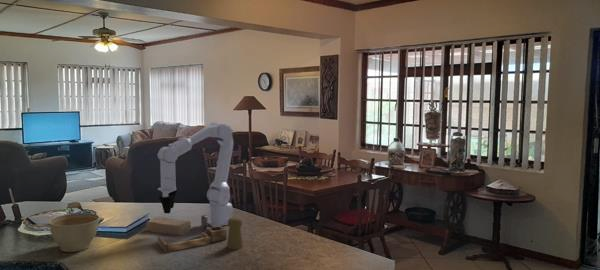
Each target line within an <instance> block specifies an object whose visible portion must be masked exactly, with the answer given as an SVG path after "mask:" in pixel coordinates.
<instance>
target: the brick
mask: <svg viewBox="0 0 600 270" xmlns="http://www.w3.org/2000/svg"><path fill="white" fill-rule="evenodd" d="M191 230H192V227H191V220H185V219H174V218H171V217H169V218H168V217H165V216H162V215H161V216H159V215H158V216H155V217H153V218H151V219H150V220H148V221H146V231H147V232H152V233H158V234H166V235H167V234H168V235H175V236H177V235H178V236H182V235H185V234H186V233H188V232H191Z"/></svg>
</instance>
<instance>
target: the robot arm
mask: <svg viewBox="0 0 600 270" xmlns="http://www.w3.org/2000/svg"><path fill="white" fill-rule="evenodd" d="M207 138H213V139H214V140H216V142H217V143H218V144H219V146H220V147H219V151H218V152H219V153H218V156H217V157H218V158H217V164H216V167H215V168H216V170H215V173H214V180H213V181H212V182H211V183H210V186H209V188H208V190H207V191H206V198H207V200H208V201H209V220H208V225H210V226H211V227H215V226H222V227H223V226H229V225H228V220H229V219H230V218H232V217H234V216H233V215H234V209H233V204H232V203H231V202H229V201H230V199H231V195H230V190H231V189H230V186H229V184H228V183H227V182H228V178H229V172H230V166H231V161H232V155H233V150H234V137H233V129H232V128H231V126H230V125H229V124H227V123H218V122H211V123H210V124H207V125H205V127H203V128H202V129H200V130H198V131H197V132H196V133H194V134H192V135H190V136H189V137H188V138H187V137H185V136H184V137H179V138H177V140H175V141H174V142H172V143H169V144H168V146H162V147H161V148H160V149H159V150H158V153H157V155H156V156H157V158H158V160H159V162H160V163H159V164H160V167H159V168H160V169H159V171H160V172H159V173H160V187H158V188H157V191H160V192H161V193H162V195H159V196H158V199H159V201H160V203H161V205H162V210H163V213H164V214H171V210H172V209H174V205H175V200H176V196H177V193H178V191H179V190H178V189H177V187H176V186H177V185H176V179H177V177H176V176H177V174H176V161H178V157H180V156H182V155H184V154H185V153H187V152H188V151H191V150H192V147H193V145H195V144H197V143H199V142H201V141H203V140H205V139H207Z"/></svg>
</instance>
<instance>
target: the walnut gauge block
mask: <svg viewBox="0 0 600 270" xmlns="http://www.w3.org/2000/svg"><path fill="white" fill-rule="evenodd" d="M206 234H207V235H208V236H209V237H211V243H215V242H220V241H226V240H227V229H226V228H225V227H223V226H215V227H213V226H211V227H210V226H209V227H208V228H206Z"/></svg>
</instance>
